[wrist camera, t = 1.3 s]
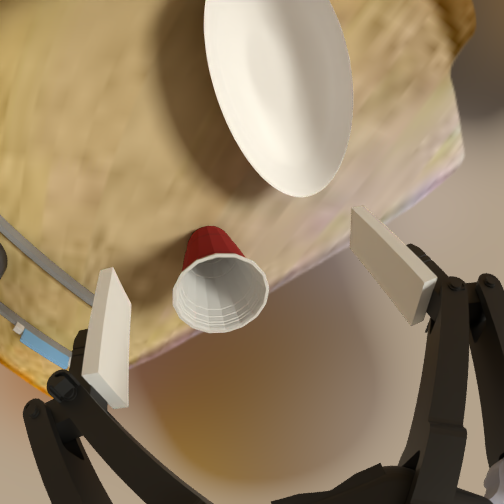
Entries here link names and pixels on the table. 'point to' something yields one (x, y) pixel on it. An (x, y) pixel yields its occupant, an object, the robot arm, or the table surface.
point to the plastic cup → (218, 284)
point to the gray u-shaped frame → (29, 333)
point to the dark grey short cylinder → (2, 261)
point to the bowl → (282, 87)
